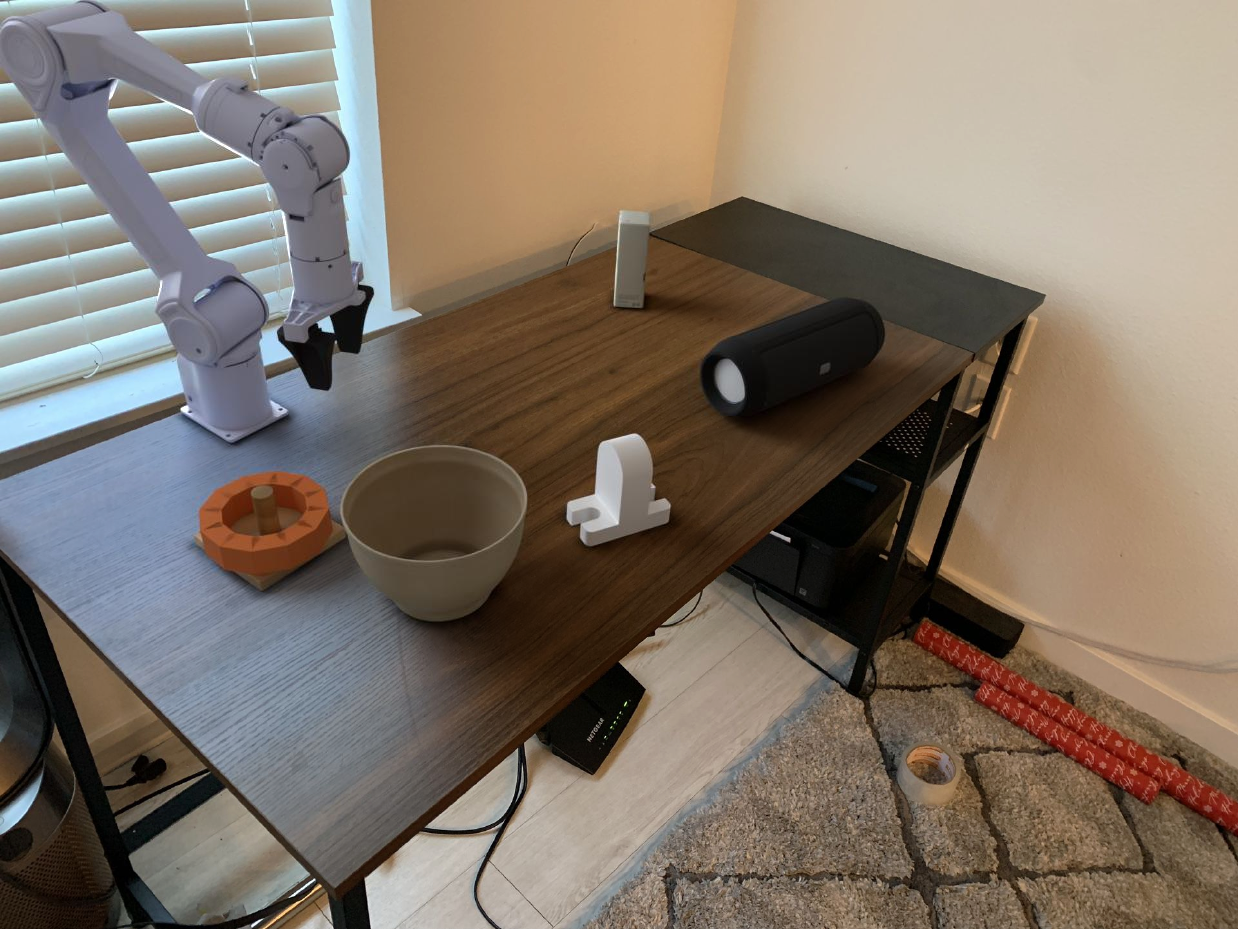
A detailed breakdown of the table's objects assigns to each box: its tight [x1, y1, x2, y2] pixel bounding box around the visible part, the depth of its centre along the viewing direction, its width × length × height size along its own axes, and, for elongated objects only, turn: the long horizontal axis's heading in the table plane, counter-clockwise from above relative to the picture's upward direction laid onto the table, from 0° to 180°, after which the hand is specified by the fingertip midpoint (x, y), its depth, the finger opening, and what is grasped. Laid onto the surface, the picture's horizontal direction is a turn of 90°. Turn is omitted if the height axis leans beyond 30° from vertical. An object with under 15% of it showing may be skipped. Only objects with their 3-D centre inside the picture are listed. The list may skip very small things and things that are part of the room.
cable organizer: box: [566, 433, 671, 547], centre depth 96 cm, size 5×10×10 cm, turn 119°
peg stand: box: [193, 485, 347, 592], centre depth 91 cm, size 10×10×6 cm
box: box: [613, 209, 651, 309], centre depth 135 cm, size 5×4×13 cm
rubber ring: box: [198, 470, 333, 575], centre depth 91 cm, size 12×12×3 cm
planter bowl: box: [339, 444, 528, 622], centre depth 86 cm, size 16×16×11 cm
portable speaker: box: [699, 296, 886, 418], centre depth 119 cm, size 26×10×10 cm, turn 129°
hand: (335, 369), depth 100 cm, fingers open, 7 cm apart
